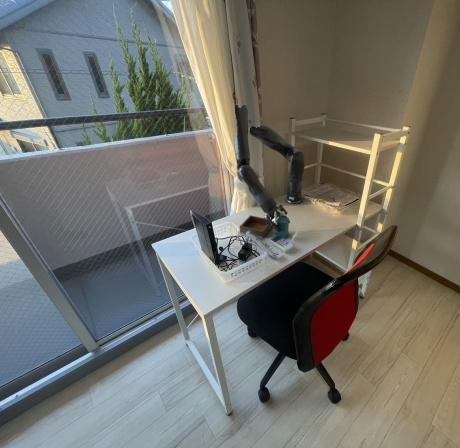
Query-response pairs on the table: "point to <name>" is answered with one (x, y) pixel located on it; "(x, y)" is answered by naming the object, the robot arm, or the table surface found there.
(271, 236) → the table surface
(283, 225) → the block
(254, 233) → the box
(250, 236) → the caliper
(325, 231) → the table surface
